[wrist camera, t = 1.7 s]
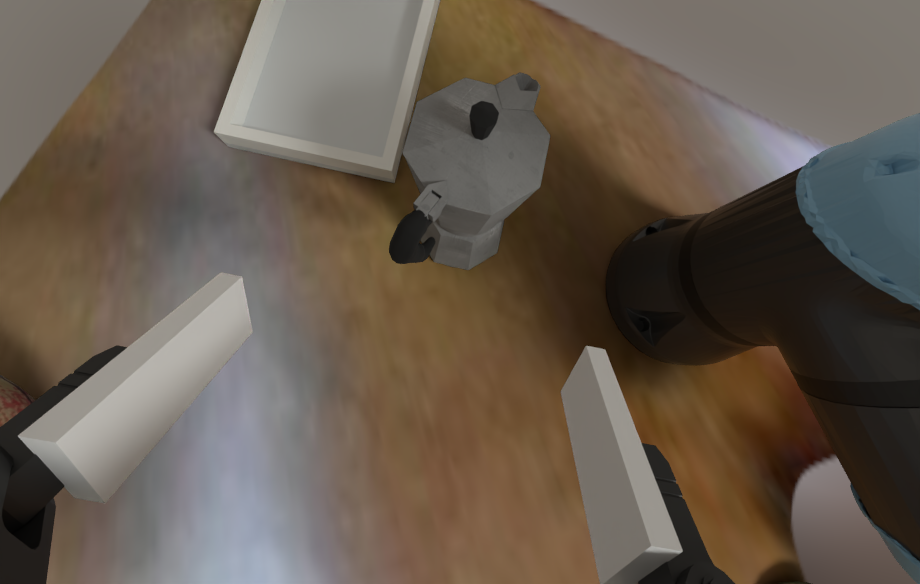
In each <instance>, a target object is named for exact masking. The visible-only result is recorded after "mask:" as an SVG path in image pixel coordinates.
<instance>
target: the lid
mask: <svg viewBox="0 0 920 584" xmlns="http://www.w3.org/2000/svg"><path fill="white" fill-rule="evenodd" d="M779 584H811V583H807V582H795V581H793V582H781V583H779Z"/></svg>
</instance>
